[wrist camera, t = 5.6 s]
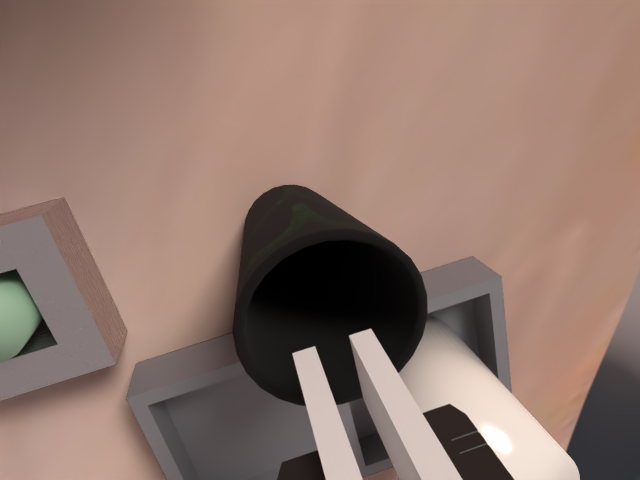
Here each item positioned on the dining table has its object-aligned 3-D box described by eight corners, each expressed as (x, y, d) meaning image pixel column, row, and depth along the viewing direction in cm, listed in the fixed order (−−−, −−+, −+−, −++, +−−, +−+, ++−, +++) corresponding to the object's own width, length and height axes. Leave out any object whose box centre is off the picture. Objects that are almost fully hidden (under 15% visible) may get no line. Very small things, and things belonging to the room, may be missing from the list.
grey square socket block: (-109, 244, 24) (-159, 270, 21) (64, 197, 25) (41, 215, 22) (-22, 377, 27) (-54, 417, 24) (127, 331, 28) (115, 364, 25)
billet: (349, 335, 31) (422, 480, 20) (452, 301, 32) (579, 422, 20) (370, 419, 34) (444, 587, 23) (464, 386, 34) (580, 532, 23)
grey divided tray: (136, 363, 29) (125, 398, 26) (472, 256, 32) (501, 276, 29) (198, 494, 34) (196, 538, 31) (488, 391, 36) (514, 422, 33)
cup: (303, 303, 30) (353, 433, 19) (202, 247, 28) (192, 362, 17) (371, 209, 29) (466, 291, 18) (272, 141, 26) (312, 189, 15)
